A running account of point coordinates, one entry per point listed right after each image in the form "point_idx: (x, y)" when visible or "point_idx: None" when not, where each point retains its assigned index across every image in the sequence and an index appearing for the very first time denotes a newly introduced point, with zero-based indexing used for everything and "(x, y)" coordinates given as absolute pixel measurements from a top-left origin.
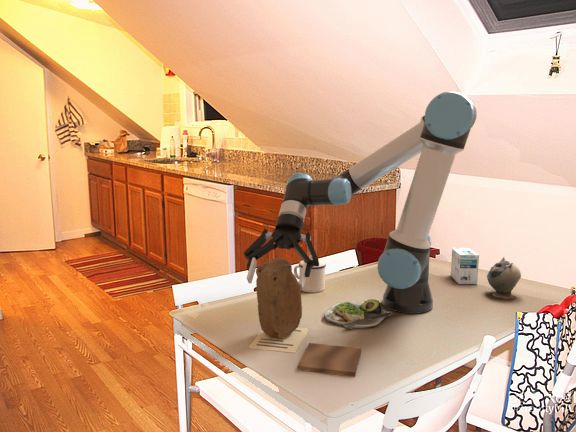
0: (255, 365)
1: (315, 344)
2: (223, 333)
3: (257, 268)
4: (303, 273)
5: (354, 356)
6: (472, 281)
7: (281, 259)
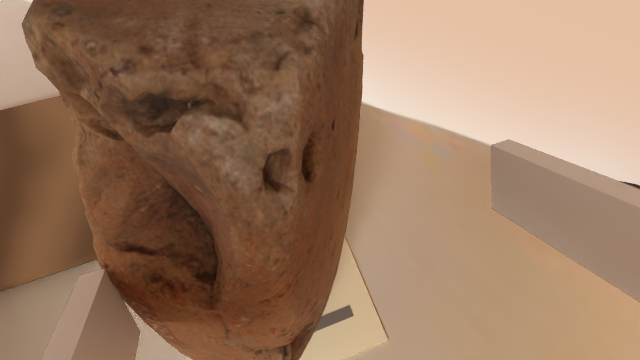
0: None
1: (85, 248)
2: (447, 178)
3: None
4: (49, 354)
5: None
6: None
7: (170, 26)
